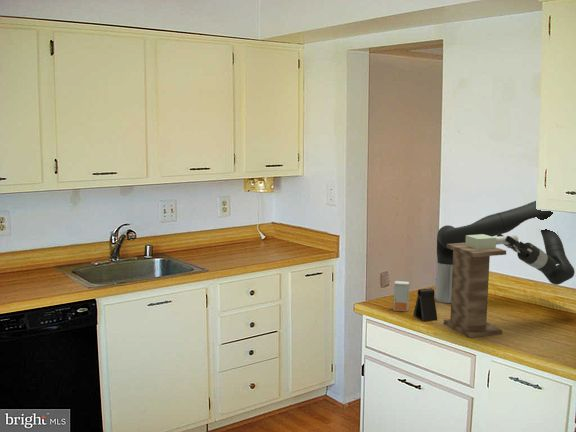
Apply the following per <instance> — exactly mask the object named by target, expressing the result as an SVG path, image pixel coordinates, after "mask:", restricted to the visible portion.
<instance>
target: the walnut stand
mask: <svg viewBox="0 0 576 432" xmlns="http://www.w3.org/2000/svg"><path fill="white" fill-rule="evenodd" d="M447 248H449V249H452V250H453V268H452V293H451V303H450V318H449V319H443V324H444V325H446V326H448V327H449V328H451V329H454V330H455V331H457V332H459V333H461V334H462V335H464V336H466V337H468V338H479V337H487V336H494V335H496V336H497V335H501V334H503V329H501V328H499V327H497V326H496V325H495V326H494V325H493V324H491V323H488V322H487V319H488V318H487V317H488V315H487V314H488V300H489V299H488V297H489V281H490V280H489V279H490V278H489V276H490V261H491V260H490V259H491V258H490V257H494V256H495V257H496V256H506V255H507V250H505V249H503V248H499V247H496V248H493V249H480V250H477V249H474V248H471V247H468V246H465V243H454V244H447Z"/></svg>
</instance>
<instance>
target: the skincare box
mask: <svg viewBox="0 0 576 432" xmlns="http://www.w3.org/2000/svg"><path fill="white" fill-rule="evenodd" d="M409 293H410V281H402V280H395V281H394V286H393V310H392V311H397V312H398V311H399V312H406V313H407V312H408V310H409V296H410V295H409Z"/></svg>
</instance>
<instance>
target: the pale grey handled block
mask: <svg viewBox="0 0 576 432" xmlns="http://www.w3.org/2000/svg"><path fill="white" fill-rule="evenodd" d="M507 236H508V235H503V236H500V237H497V236H488V235H485V234H479V235H466V243H465V246H468V247H471V248H474V249H477V250H480V249H493V248H497V245H504V244H510V243H508V242H507V241H505V239H506V237H507ZM509 236H510V237H512V238H513V239H515V240H518V241H519V237H518V235H516V234H515V235H509Z"/></svg>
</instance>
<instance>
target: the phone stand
mask: <svg viewBox="0 0 576 432" xmlns="http://www.w3.org/2000/svg"><path fill="white" fill-rule="evenodd" d="M436 306H437V305H436V298H435V289H434V288H421V289H418V290H417V298H416V302H415V306H414V311H413V314H412V315H413V317H416V318H417V319H419V320H420V321H422V322H431V321H433V320H434V321H438V314H437V307H436Z"/></svg>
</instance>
